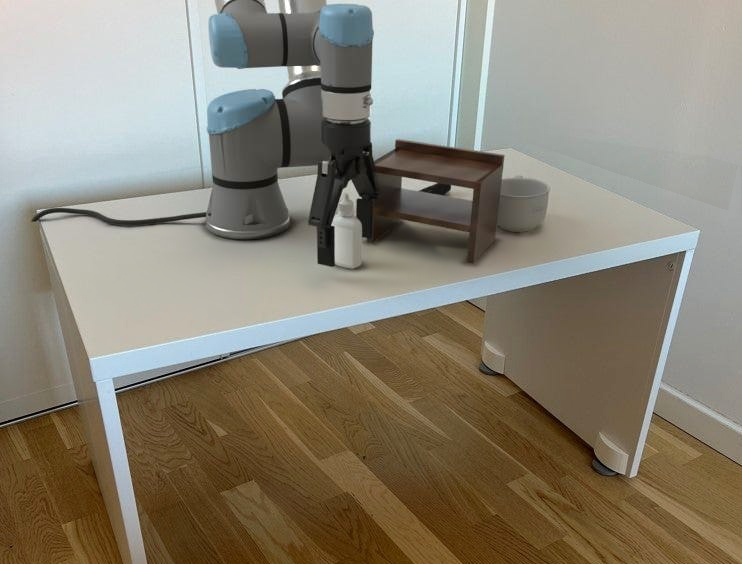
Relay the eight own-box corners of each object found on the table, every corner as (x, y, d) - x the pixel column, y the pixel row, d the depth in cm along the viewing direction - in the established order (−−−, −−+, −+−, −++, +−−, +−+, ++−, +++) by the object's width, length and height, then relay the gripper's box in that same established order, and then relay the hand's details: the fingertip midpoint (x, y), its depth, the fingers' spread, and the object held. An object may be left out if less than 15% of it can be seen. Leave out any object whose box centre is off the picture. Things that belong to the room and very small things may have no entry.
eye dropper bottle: (338, 271, 123) (338, 200, 117) (328, 258, 128) (327, 189, 121) (363, 268, 125) (365, 198, 118) (352, 255, 129) (352, 187, 123)
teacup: (539, 240, 137) (545, 197, 132) (480, 232, 139) (485, 190, 135) (549, 215, 148) (555, 175, 144) (495, 208, 151) (499, 168, 147)
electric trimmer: (455, 195, 158) (456, 180, 156) (413, 213, 147) (414, 198, 145) (440, 191, 160) (441, 176, 158) (397, 209, 149) (398, 193, 147)
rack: (366, 242, 134) (368, 155, 126) (394, 221, 143) (397, 138, 135) (473, 264, 127) (482, 173, 119) (495, 240, 136) (504, 154, 128)
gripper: (328, 140, 103) (329, 282, 114) (402, 105, 122) (397, 230, 133) (281, 133, 105) (287, 272, 116) (360, 100, 125) (359, 222, 136)
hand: (345, 250), depth 125 cm, fingers open, 13 cm apart
